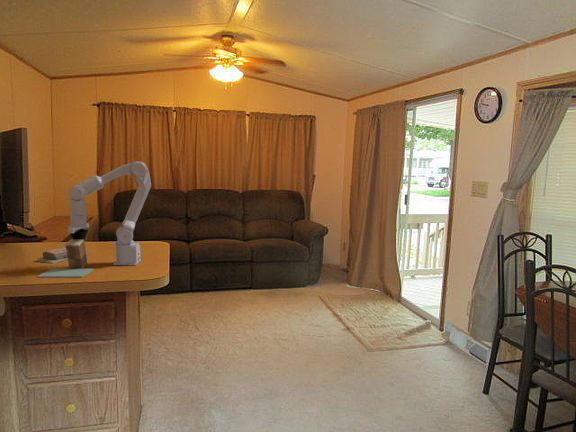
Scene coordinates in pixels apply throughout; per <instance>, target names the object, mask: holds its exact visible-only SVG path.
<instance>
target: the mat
mask: <svg viewBox="0 0 576 432" xmlns="http://www.w3.org/2000/svg"><path fill="white" fill-rule="evenodd" d="M93 271H94V268H83V269H69V268H50V269H48V270H46V271H45V272H42V273H41V274H39V275H37V276H36V278H39V279H41V278H43V279H44V278H48V279H49V278H83V277H85V276H87V275H88V274H89V273H91V272H93Z"/></svg>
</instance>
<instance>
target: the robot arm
mask: <svg viewBox="0 0 576 432" xmlns="http://www.w3.org/2000/svg"><path fill="white" fill-rule="evenodd" d="M131 175H132V176H133V177H134V178H135V180H136V183H137V185H138V187H137V189H136V191H135V193H134V196H133V198H132V201H131V203H130V206H129V208H128V210H127V212H126V215H125V217H124V220H123V221H122V223H121V225H120V226H119V227H117V229H116V231H115V235H116V238H117V240H116V241H115V257H116V258H115V260H116V261H115V262H114V263H113V264H112V265H113V266H137V265H138V264H139V263H140V262H141V261H142V260H141V245H140V243H139V242H135V241H134V240H133V239H134V231H135V227H136V223H137V221H138V218H139V216H140V214H141V212H142V210H143V207H144V203H145V201H147V200H146V199H147V197H148V195H149V192H150V189H151V188H152V182H151V181H152V180H151V176H150V171H149V168H148V167H147V165H146V163H144V162H142V161H140V160H139V161H138V160H137V161H136V160H135V161H133V162H131V163H127V164H124V165H121V166H119V167H116V168H115V169H112V170H111V171H109V172H107V173H106V174H103V175H102V176H99V175H90V176H89V177H88V178H87V179H85V180H84V181H78V182H77V185H75V184H74V185H73V186H71V187H70V188H69V190H68V195H69V197H70V198H69V214H70V215H69V217H70V225H67V228H68V229H67V234H70V235H71V237H72V239H84V242H85V240H86V237H87V235H88V233H89V230H88V228H90V223H89V222H87V209H86V207H87V206H86V200H85V196H90V195H92V194H93V193H96V192H98V191H100V190H102V189H103V188H104V186H105V184H107V183H109V182H111V181H112V180H116V179H117V178H120V177H121V176H131Z"/></svg>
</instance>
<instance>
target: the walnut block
mask: <svg viewBox="0 0 576 432" xmlns="http://www.w3.org/2000/svg"><path fill="white" fill-rule="evenodd" d="M85 244H86V243H85V241H84V239H73V238H71V239H70V240H68V241H67V243H65V247H66V251H67V257H68V260H67V261H68V262H67V263H68V269H85V267H86V266H87V265H88V259H87V256H86V254H87V252H86V246H85Z"/></svg>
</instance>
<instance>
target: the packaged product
mask: <svg viewBox="0 0 576 432" xmlns="http://www.w3.org/2000/svg"><path fill="white" fill-rule="evenodd" d="M87 256H89V253H86V257H87ZM36 261H37V262H40V263H41V262H42V263H47V264H57V263H60V262H65V261H68V257H67V251H66V246H64V247H61V248H55V249H48V250H45V251H43V252H42V256H41V257H37V260H36Z"/></svg>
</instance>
